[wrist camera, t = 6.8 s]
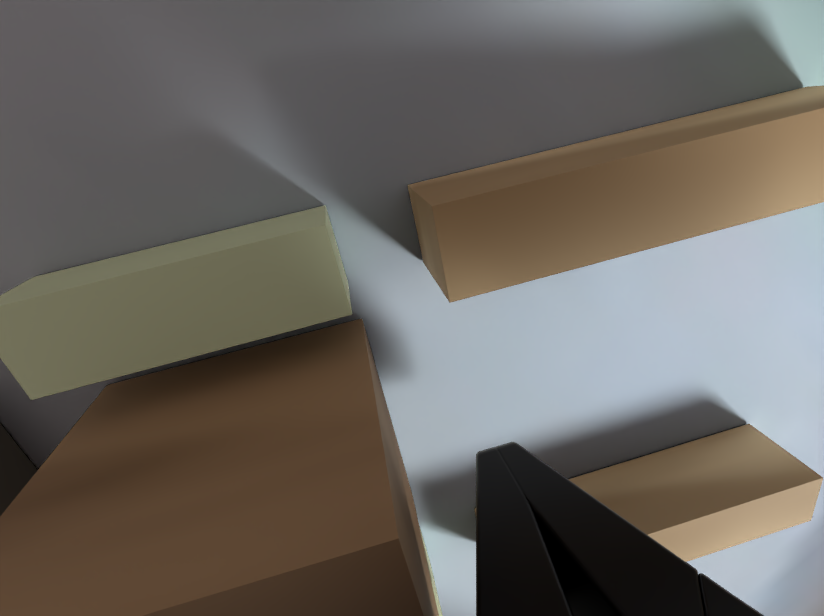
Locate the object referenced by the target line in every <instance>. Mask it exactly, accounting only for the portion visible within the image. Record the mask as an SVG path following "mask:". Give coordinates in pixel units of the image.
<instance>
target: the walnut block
mask: <svg viewBox="0 0 824 616" xmlns="http://www.w3.org/2000/svg"><path fill="white" fill-rule="evenodd" d="M0 616H439V614H438V609H437V605H436V600H435V596H434V591H433V587H432V582H431V577H430V573H429V568H428V564H427V559H426V555H425V550H424V546H423V541H422V537H421V532H420V528H419V523H418V518H417V514H416V509H415V505H414V500H413V496H412V492H411V488H410V485H409V481H408V478H407V474H406V471H405V467H404V464H403V460H402V457H401V453H400V450H399V446H398V443H397V439H396V436H395V432H394V429H393V425H392V422H391V418H390V415H389V411H388V408H387V404H386V401H385V397H384V393H383V390H382V386H381V383H380V379H379V376H378V372H377V369H376V365H375V362H374V358H373V355H372V351H371V348H370V344H369V341H368V337H367V334H366V330H365V327H364V323H363V320H362V318H361V319H357V320H354V321H350V322H346V323H342V324H338V325H334V326H331V327H327V328H323V329H319V330H315V331H312V332H308V333H304V334H300V335H296V336H292V337H289V338H285V339H281V340H277V341H273V342H270V343H266V344H262V345H258V346H254V347H250V348H247V349H243V350H239V351H235V352H231V353H228V354H224V355H220V356H216V357H212V358H208V359H205V360H201V361H197V362H193V363H189V364H186V365H182V366H178V367H174V368H170V369H166V370H163V371H159V372H155V373H151V374H147V375H144V376H140V377H136V378H132V379H128V380H124V381H121V382H117V383H113V384H109V385H107V386H106V387H105V388H104V389H103V391H102V392H101V393H100V394H99V396H98V397H97V398H96V399H95V400H94V402H93V403H92V404H91V405H90V407H89V408H88V409H87V410H86V412H85V413H84V414H83V415H82V416H81V418H80V419H79V420H78V421H77V423H76V424H75V425H74V426H73V428H72V429H71V430H70V431H69V432H68V434H67V435H66V436H65V437H64V439H63V440H62V441H61V442H60V444H59V445H58V446H57V447H56V448H55V450H54V451H53V452H52V453H51V455H50V456H49V457H48V458H47V460H46V461H45V462H44V463H43V464H42V466H41V467H40V468H39V469H38V471H37V472H36V473H35V474H34V476H33V477H32V478H31V479H30V480H29V482H28V483H27V484H26V485H25V487H24V488H23V489H22V490H21V491H20V493H19V494H18V495H17V496H16V498H15V499H14V500H13V501H12V503H11V504H10V505H9V506H8V507H7V509H6V510H5V511H4V512H3V514H2V515H1V516H0Z"/></svg>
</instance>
